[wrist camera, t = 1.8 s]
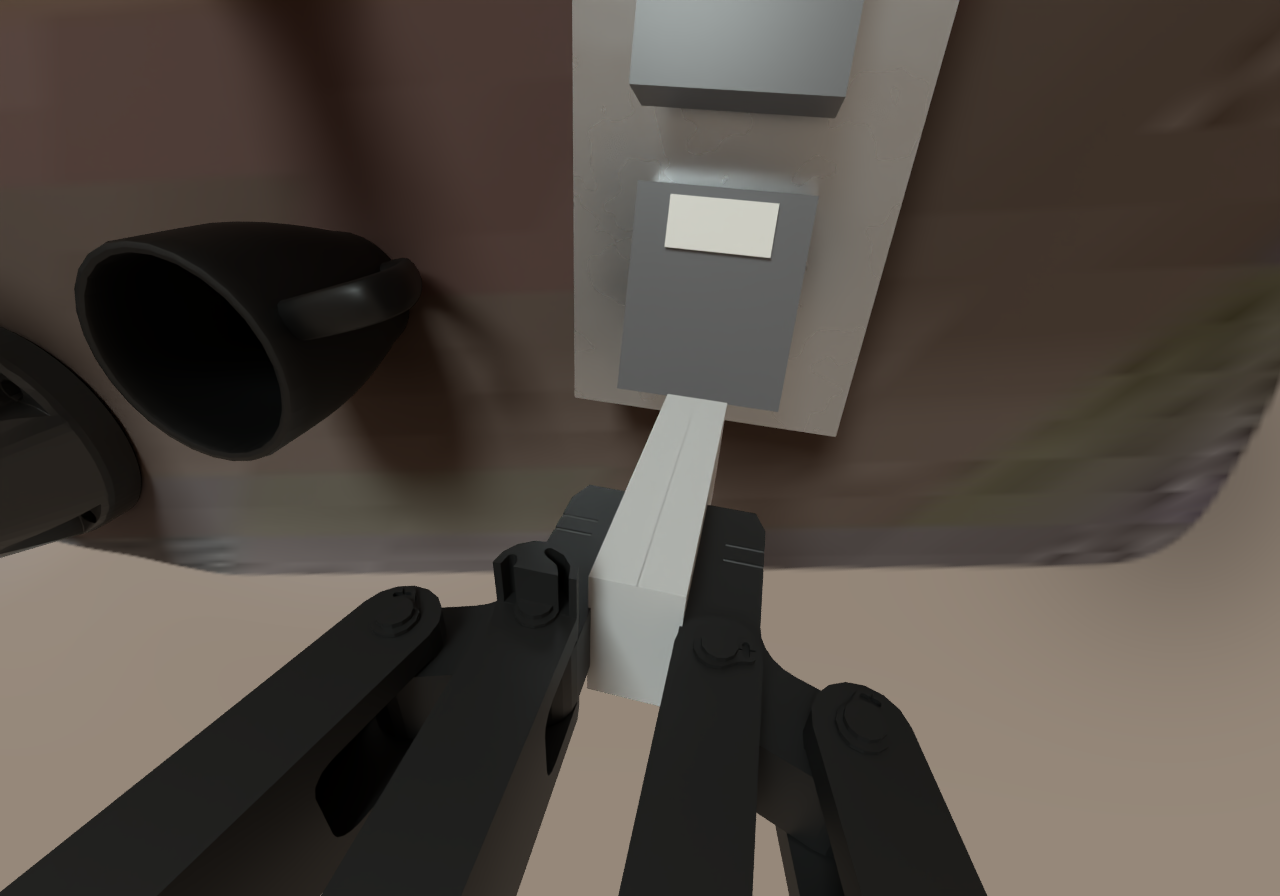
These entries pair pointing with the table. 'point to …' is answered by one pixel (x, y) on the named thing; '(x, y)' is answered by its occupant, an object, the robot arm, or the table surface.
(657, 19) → the switch
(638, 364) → the switch
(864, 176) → the console
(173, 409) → the mug
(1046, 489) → the table surface
